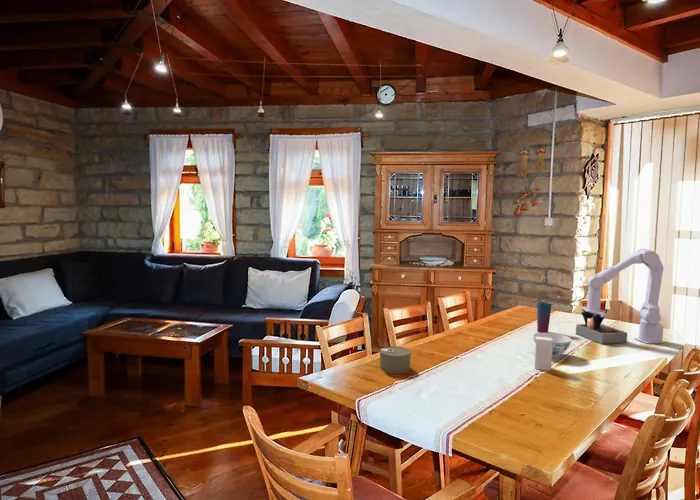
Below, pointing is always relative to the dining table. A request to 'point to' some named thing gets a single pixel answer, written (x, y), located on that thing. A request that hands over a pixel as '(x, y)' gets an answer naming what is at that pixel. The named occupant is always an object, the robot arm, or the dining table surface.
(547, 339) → the skincare box
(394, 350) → the can
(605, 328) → the walnut cube
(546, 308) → the cup
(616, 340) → the tote
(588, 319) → the terracotta cylinder
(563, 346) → the chinaware
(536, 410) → the dining table surface
